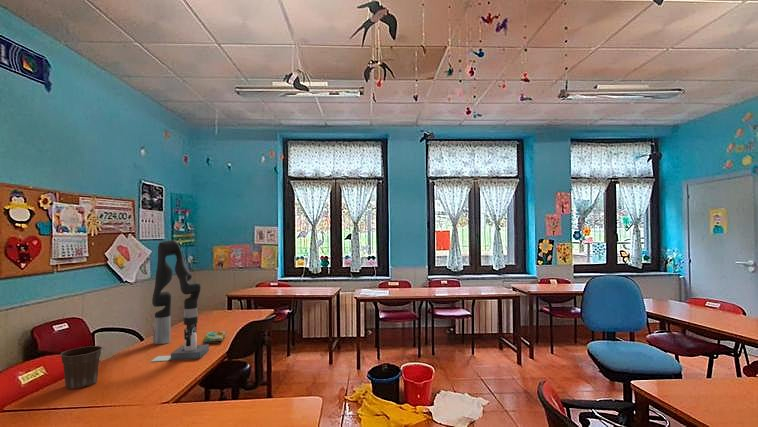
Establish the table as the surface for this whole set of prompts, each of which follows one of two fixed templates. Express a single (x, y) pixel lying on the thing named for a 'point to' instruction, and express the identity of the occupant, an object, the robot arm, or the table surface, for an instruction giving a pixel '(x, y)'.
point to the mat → (161, 358)
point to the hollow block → (189, 353)
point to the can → (193, 343)
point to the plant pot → (81, 366)
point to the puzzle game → (214, 337)
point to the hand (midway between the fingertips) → (190, 344)
